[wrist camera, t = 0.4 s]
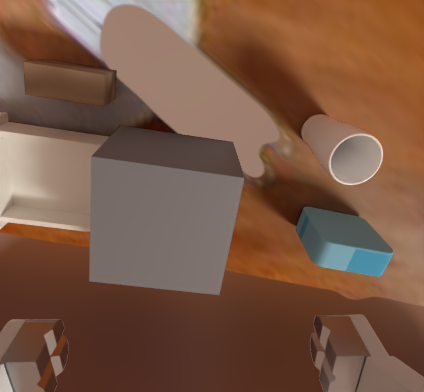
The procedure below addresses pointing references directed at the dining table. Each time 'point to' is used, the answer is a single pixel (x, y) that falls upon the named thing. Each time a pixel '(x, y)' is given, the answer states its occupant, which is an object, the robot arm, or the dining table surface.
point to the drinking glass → (342, 149)
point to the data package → (342, 242)
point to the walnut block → (69, 82)
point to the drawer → (45, 175)
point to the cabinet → (163, 210)
